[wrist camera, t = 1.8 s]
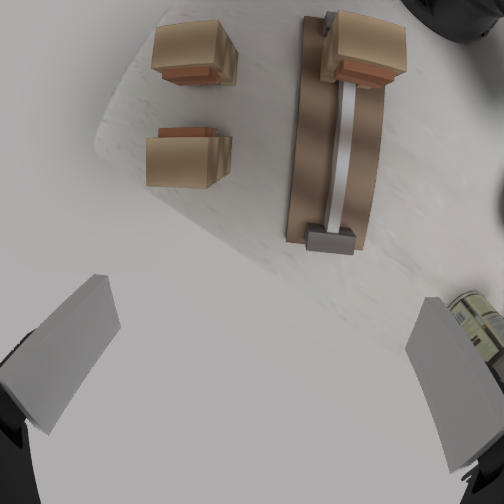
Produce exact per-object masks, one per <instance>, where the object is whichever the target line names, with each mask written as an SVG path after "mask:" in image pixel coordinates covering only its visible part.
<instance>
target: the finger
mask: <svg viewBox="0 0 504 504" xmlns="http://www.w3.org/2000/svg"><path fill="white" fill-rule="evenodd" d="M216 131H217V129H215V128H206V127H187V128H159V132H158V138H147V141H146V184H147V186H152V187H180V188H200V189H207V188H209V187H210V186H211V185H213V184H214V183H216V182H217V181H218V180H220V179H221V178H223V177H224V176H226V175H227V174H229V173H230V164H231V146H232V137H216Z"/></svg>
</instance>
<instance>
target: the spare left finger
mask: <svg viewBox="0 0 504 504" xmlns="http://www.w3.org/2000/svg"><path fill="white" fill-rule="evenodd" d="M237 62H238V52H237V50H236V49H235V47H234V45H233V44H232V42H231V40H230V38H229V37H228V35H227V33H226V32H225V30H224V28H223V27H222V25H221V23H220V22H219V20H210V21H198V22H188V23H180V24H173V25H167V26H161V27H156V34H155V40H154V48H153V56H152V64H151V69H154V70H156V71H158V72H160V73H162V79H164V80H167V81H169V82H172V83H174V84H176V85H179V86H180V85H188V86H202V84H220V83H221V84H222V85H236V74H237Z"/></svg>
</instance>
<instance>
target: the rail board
mask: <svg viewBox="0 0 504 504" xmlns="http://www.w3.org/2000/svg"><path fill="white" fill-rule="evenodd" d="M336 15H337V13H334V12H329V11H327V13H326V16H325V18H317V17H309V16H304V25H303V47H302V65H301V81H300V96H299V109H298V122H297V134H296V146H295V157H294V167H293V177H292V187H291V197H290V206H289V215H288V224H287V233H286V242H291V243H300V244H305V246H306V250H308V251H317V252H327V253H336V254H345V255H353V253H354V250H363V245H364V241H365V236H366V231H367V227H368V222H369V216H370V211H371V206H372V200H373V194H374V188H375V182H376V175H377V168H378V160H379V152H380V144H381V134H382V123H383V110H384V94H385V85H384V86H382V87H380V88H378V89H377V88H371V89H369V90H366V89H361V88H357V87H356V83H351V82H346V81H340V80H336V81H335V82H334V83H330V82H323V81H320V69H321V48H322V46H323V43H324V41H325V39H326V37H327V35H328V32H329V30H330V28H331V26H332V23H333V21H334V19H335V17H336Z"/></svg>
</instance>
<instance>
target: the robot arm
mask: <svg viewBox="0 0 504 504" xmlns="http://www.w3.org/2000/svg"><path fill="white" fill-rule="evenodd" d="M402 1H403V3H404V4H405V5H406V6H407V7H408V9H409V10H410V11H411V12H412V13H413V14H414V15H415V16H416V17H417V18H418V19H419V20H420V21H422V22H423V23H424V24H425V25H426V26H428V27H429V28H430V29H432V30H433V31H435V32H436V33H438V34H439V35H441V36H443V37H445V38H447V39H449V40H452V41H454V42H458V43H464V44H468V43H473V42H475V41H478V40H481V39H483V38H484V37H485V36H486V35H487V34H488V32H489V30H490V29H491V28H492V27H493V26H494V25H495V23H496V22H497V21H498V19H499V18H501V17H504V0H402ZM120 328H121V325H120V322H119V318H118V315H117V311H116V307H115V304H114V300H113V296H112V292H111V287H110V283H109V279H108V276H105V275H96V274H94V275H93V276H92V277H91V278H89V279H88V280H87V281H86V282H85V283H84V284H83V285H82V286H81V287H80V288H78V289H77V290H76V291H75V292H74V293H73V294H72V295H71V296H70V297H69V298H67V299H66V300H65V301H64V302H63V303H62V304H61V305H60V306H59V307H58V308H57V309H56V310H55V311H54V312H53V313H52V314H51V315H50V316H49V317H48V318H47V319H46V320H45V321H44V322H43V323H42V324H41V325H40V326H39V327H38V328H36V329H35V330H33V331H31V332H30V333H28V334H27V335H26V336H25V337H24V338H23V339H22V340H21V341H20V344H17V346H16V347H15V348H14V350H12V351H11V352H10V353H9V354H8V355H7V357H6V358H5V359H4V360H3V361H2V362H1V363H0V504H41V501H40V498H39V494H38V490H37V485H36V481H35V476H34V471H33V466H32V460H31V453H30V446H29V437H28V429H27V425H26V423H25V422H24V421H25V419H26V418H27V419H28V420H29V421H30V422H31V423H32V424H33V425H34V427H36V428H37V429H39V430H41V431H42V432H44V433H45V434H47V435H49V434H50V432H51V431H52V429H53V428H54V426H55V424H56V423H57V421H58V419H59V418H60V416H61V415H62V413H63V411H64V409H65V408H66V407H67V405H68V403H69V402H70V400H71V399H72V397H73V396H74V394H75V393H76V391H77V390H78V388H79V387H80V385H81V383H82V382H83V381H84V379H85V378H86V376H87V375H88V373H89V372H90V370H91V369H92V367H93V366H94V364H95V363H96V362H97V360H98V358H99V357H100V356H101V354H102V353H103V352H104V350H105V349H106V347H107V346H108V345H109V343H110V342H111V340H112V339H113V338H114V336H115V335H116V334H117V332H118V331H119V330H120ZM405 350H406V352H407V354H408V356H409V359H410V361H411V363H412V366H413V368H414V370H415V373H416V375H417V377H418V380H419V382H420V385H421V387H422V390H423V392H424V395H425V398H426V400H427V403H428V406H429V408H430V411H431V414H432V417H433V419H434V422H435V425H436V428H437V431H438V434H439V437H440V440H441V444H442V447H443V450H444V453H445V457H446V460H447V464H448V467H449V471H450V474H452V473H455V472H457V471H460V470H462V469H465V468H467V467H468V466H469V465H471V463H473V462H474V461H475V460H478V463H479V464H478V465H476V466H475V467H474V468H473V469H471V470H470V471H469V472H467V473H466V474H465V475H464V476H463V477H462V479H461V480H462V481H464V480H465V479H466V478H467V477H469V476H470V475H472V476H471V478H469V479H468V480H467V481H466V482H467V483H469V484H468V486H467V489H466V491H465V493H464V496H463V498H462V500H461V502H460V504H504V383H503V382H501V378H500V376H499V375H498V373H497V371H496V370H495V369H494V368H493V367H492V366H491V365H490V364H489V363H488V362H487V361H486V362H484V360H483V359H482V357H481V356H480V354H479V352H478V351H477V349H476V348H475V346H474V345H473V343H472V342H471V340H470V339H469V337H468V336H467V335H466V333H465V332H464V330H463V329H462V327H461V326H460V325H459V323H458V322H457V320H456V319H455V318H454V316H453V315H452V314H451V312H450V311H449V310H448V308H447V307H446V306H445V304H444V303H443V302H442V300H441V299H440V298H439V297H425V299H424V302H423V305H422V308H421V310H420V313H419V316H418V318H417V321H416V323H415V326H414V328H413V331H412V333H411V336H410V338H409V340H408V343H407V345H406V347H405Z"/></svg>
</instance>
